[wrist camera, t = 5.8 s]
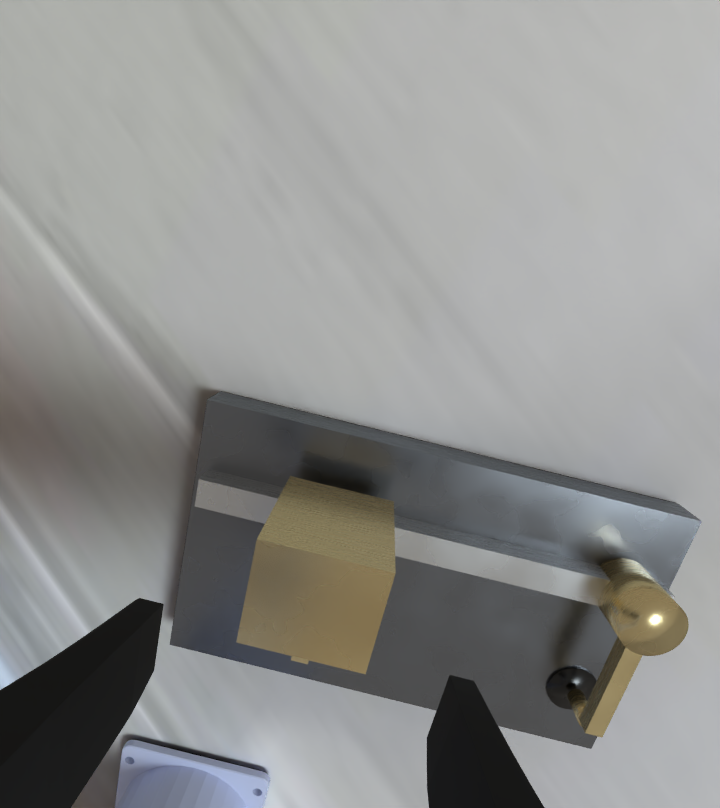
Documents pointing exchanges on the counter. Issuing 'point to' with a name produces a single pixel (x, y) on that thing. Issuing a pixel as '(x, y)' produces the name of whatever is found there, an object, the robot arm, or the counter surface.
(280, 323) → the counter surface
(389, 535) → the leg
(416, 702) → the bolt plate
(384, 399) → the counter surface
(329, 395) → the counter surface
